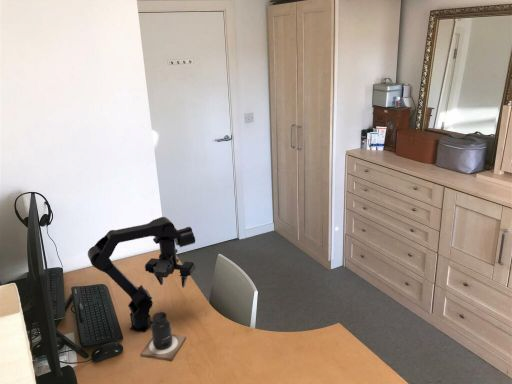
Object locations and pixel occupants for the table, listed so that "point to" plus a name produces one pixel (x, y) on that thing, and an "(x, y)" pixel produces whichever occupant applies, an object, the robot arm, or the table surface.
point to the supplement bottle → (161, 331)
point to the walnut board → (166, 353)
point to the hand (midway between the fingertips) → (172, 285)
